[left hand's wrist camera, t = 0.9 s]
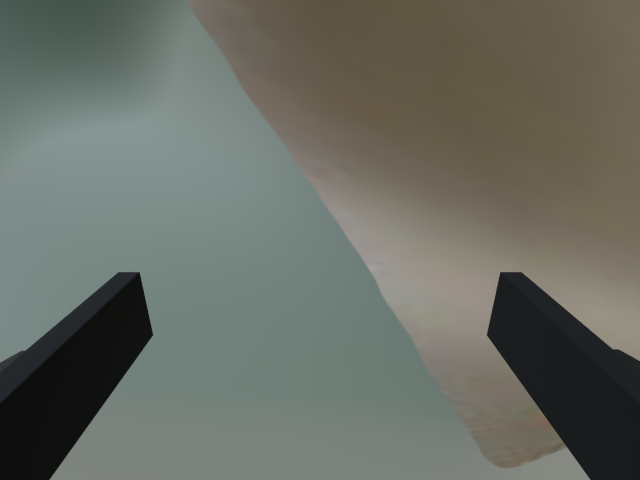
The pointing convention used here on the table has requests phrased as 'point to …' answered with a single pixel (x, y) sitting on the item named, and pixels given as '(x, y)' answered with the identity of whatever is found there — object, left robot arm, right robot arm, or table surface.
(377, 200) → the table surface
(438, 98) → the table surface
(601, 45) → the table surface
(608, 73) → the table surface
